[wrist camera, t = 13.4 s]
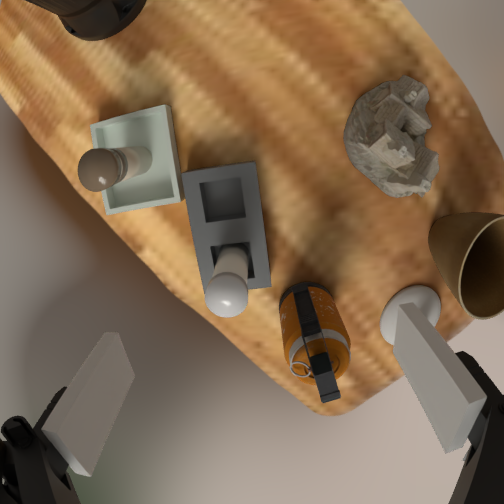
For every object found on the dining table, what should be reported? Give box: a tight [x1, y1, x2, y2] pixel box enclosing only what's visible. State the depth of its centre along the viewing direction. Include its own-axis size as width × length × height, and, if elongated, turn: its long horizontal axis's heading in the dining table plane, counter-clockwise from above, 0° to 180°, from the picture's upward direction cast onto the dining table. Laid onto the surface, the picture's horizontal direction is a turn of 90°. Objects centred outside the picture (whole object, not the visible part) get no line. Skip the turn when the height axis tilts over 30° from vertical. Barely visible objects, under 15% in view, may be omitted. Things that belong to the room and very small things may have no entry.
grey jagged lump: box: [343, 75, 439, 198], centre depth 37 cm, size 16×16×15 cm
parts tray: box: [90, 104, 185, 215], centre depth 43 cm, size 14×12×3 cm
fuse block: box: [181, 160, 271, 294], centre depth 46 cm, size 18×10×4 cm, turn 8°
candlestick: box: [380, 285, 441, 345], centre depth 39 cm, size 13×13×30 cm
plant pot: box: [428, 212, 504, 320], centre depth 41 cm, size 15×15×16 cm
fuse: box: [205, 243, 249, 317], centre depth 42 cm, size 5×5×14 cm
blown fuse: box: [78, 146, 152, 192], centre depth 38 cm, size 5×5×14 cm
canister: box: [279, 282, 351, 403], centre depth 43 cm, size 9×11×20 cm
